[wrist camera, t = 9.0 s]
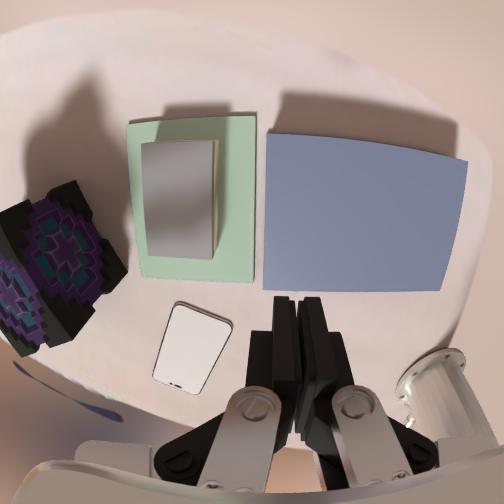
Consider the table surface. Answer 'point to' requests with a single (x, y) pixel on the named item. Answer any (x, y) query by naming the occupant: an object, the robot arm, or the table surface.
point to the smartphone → (190, 348)
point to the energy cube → (52, 269)
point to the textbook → (358, 215)
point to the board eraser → (181, 198)
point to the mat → (229, 197)
